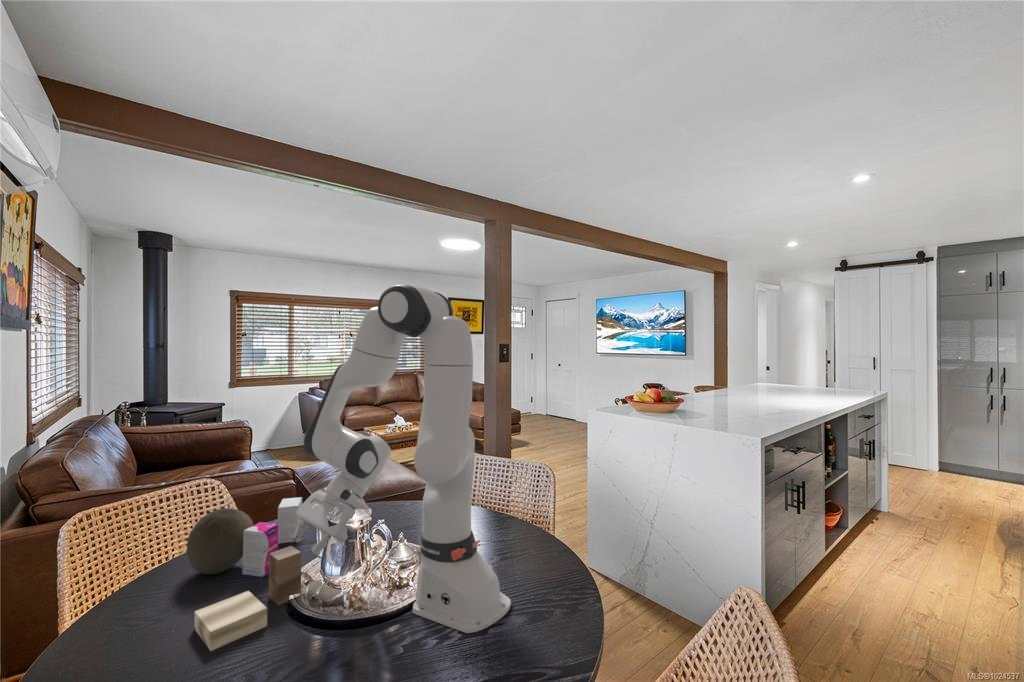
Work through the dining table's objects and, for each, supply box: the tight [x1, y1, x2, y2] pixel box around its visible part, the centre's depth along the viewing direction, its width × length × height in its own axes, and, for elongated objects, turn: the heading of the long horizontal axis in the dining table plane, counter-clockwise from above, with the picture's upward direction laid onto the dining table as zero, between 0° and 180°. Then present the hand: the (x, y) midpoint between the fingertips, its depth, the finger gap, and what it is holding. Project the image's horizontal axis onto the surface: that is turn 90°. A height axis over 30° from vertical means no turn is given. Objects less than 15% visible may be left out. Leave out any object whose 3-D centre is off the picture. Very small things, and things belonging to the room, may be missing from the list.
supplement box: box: [241, 521, 279, 579], centre depth 114 cm, size 6×6×12 cm
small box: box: [277, 496, 303, 545], centre depth 134 cm, size 8×6×10 cm
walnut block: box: [268, 545, 302, 606], centre depth 103 cm, size 5×5×10 cm
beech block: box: [194, 590, 268, 652], centre depth 92 cm, size 10×10×4 cm
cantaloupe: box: [186, 507, 254, 575], centre depth 115 cm, size 14×14×15 cm
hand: (303, 546), depth 107 cm, fingers open, 8 cm apart
